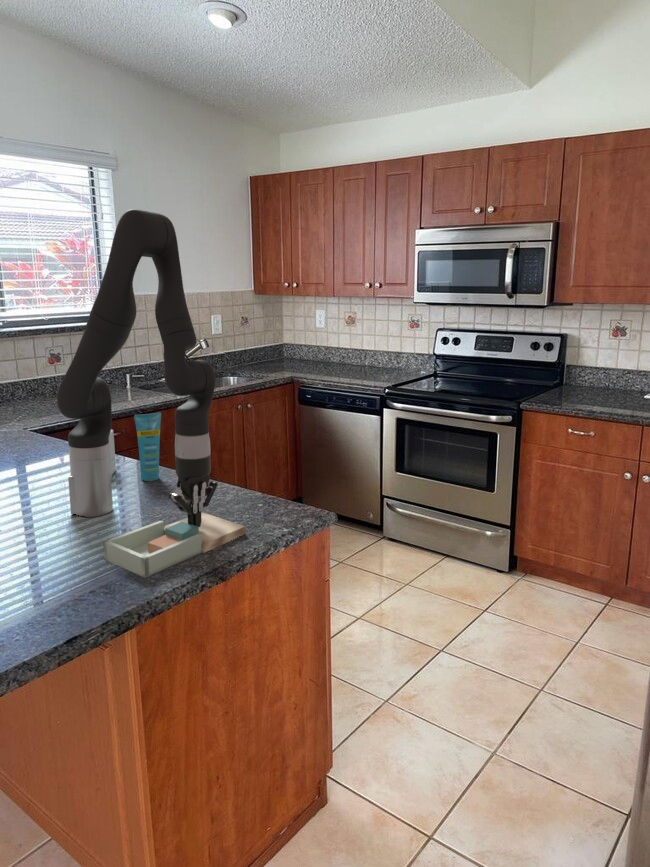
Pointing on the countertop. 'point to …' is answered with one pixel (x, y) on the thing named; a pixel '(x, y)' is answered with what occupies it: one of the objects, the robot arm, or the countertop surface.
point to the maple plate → (215, 531)
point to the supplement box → (112, 452)
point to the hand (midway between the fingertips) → (194, 527)
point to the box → (137, 558)
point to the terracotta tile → (161, 543)
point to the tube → (148, 444)
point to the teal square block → (182, 530)
